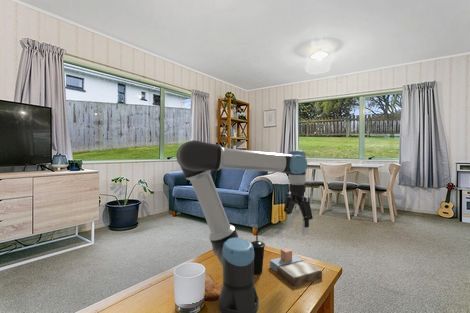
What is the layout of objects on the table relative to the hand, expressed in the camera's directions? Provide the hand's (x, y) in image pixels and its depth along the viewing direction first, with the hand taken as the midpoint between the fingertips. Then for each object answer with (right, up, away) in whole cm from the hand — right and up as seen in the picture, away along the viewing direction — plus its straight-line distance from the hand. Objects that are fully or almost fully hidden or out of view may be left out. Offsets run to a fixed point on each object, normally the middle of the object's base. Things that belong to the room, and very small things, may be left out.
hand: (297, 230), depth 114 cm
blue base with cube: (-3, -20, +8) cm, 22 cm away
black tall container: (-19, -21, +2) cm, 28 cm away
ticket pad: (+1, -21, -1) cm, 21 cm away
